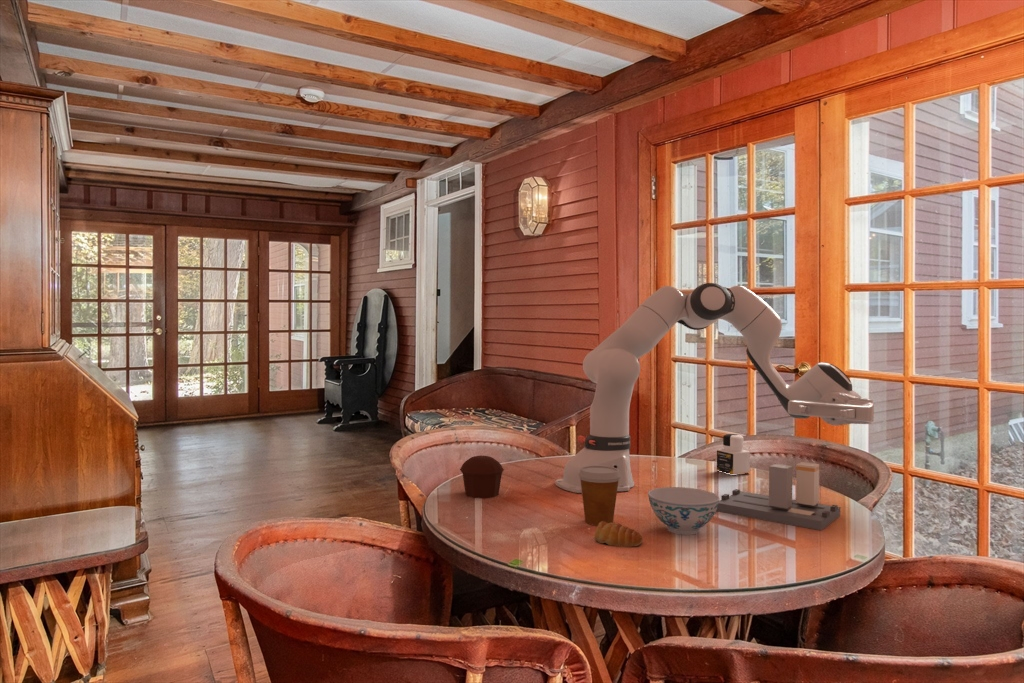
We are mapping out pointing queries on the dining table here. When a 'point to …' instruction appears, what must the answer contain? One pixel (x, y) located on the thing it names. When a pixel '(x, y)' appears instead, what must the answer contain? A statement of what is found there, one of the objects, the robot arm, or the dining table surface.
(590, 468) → the disposable coffee cup
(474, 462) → the muffin
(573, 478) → the robot arm
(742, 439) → the medicine bottle
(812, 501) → the block
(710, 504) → the chinaware
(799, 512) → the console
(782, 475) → the fader
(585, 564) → the dining table surface
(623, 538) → the pastry
